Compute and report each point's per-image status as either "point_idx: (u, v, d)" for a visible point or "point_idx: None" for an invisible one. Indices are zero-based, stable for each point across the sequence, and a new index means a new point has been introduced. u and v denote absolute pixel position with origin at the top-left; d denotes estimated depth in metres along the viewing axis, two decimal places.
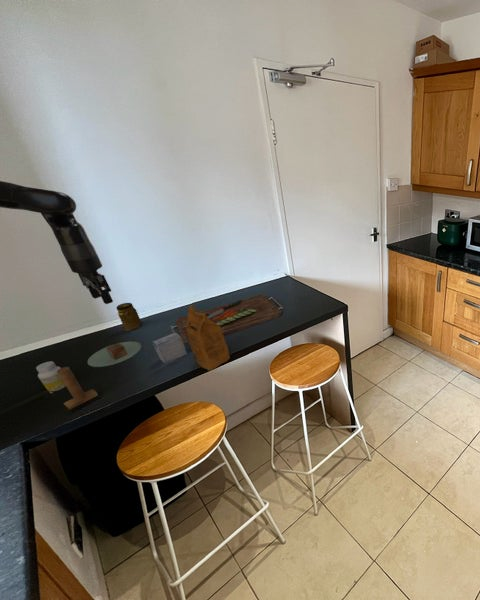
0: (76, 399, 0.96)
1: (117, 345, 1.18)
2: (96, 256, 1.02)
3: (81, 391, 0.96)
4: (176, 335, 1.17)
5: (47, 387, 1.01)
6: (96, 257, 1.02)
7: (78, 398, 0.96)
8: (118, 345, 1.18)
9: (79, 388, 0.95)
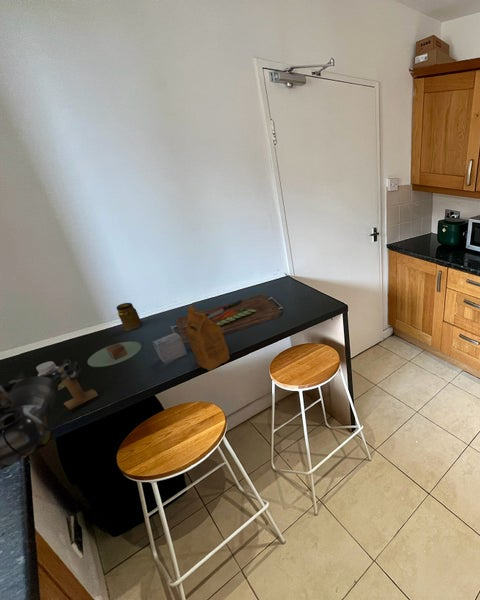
0: (76, 399, 0.96)
1: (117, 345, 1.18)
2: None
3: (81, 391, 0.96)
4: (176, 335, 1.17)
5: None
6: None
7: (78, 398, 0.96)
8: (118, 345, 1.18)
9: (79, 388, 0.95)
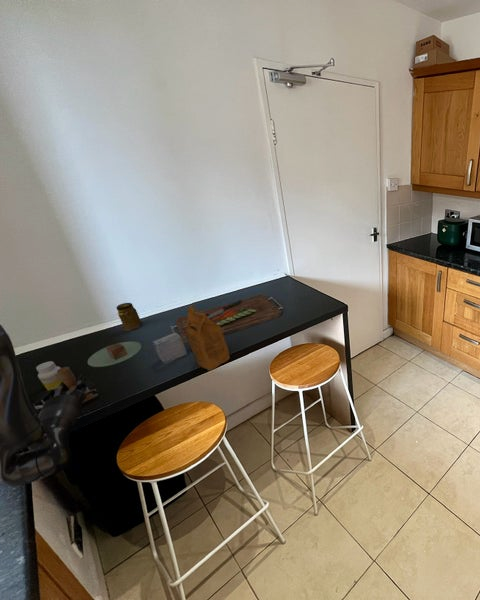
0: None
1: (117, 345, 1.18)
2: None
3: None
4: (176, 335, 1.17)
5: (47, 387, 1.01)
6: None
7: None
8: (118, 345, 1.18)
9: None
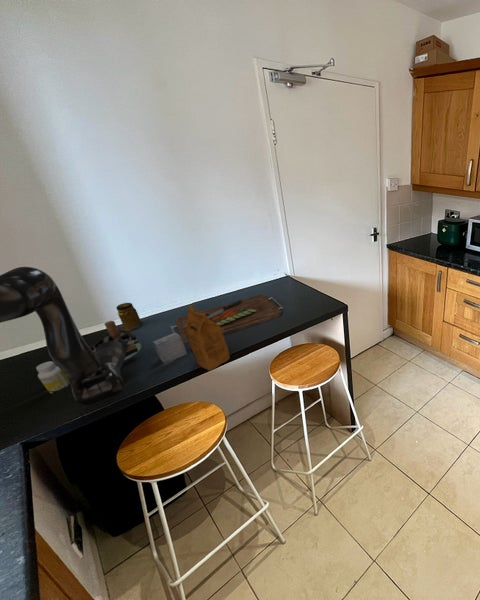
0: None
1: None
2: None
3: None
4: (176, 335, 1.17)
5: (47, 387, 1.01)
6: None
7: None
8: None
9: None
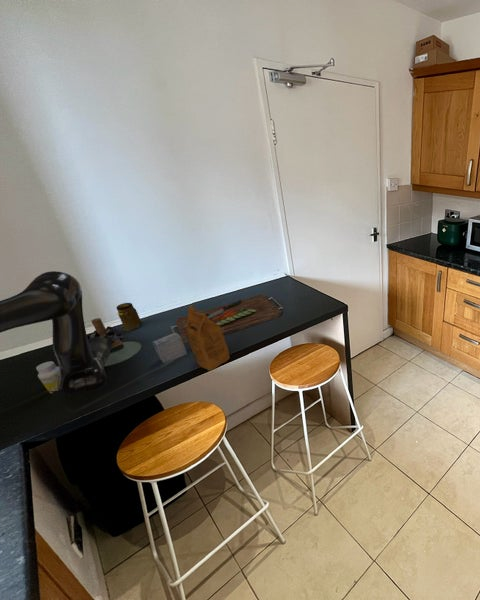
0: None
1: None
2: None
3: None
4: (176, 335, 1.17)
5: (47, 387, 1.01)
6: None
7: None
8: None
9: None
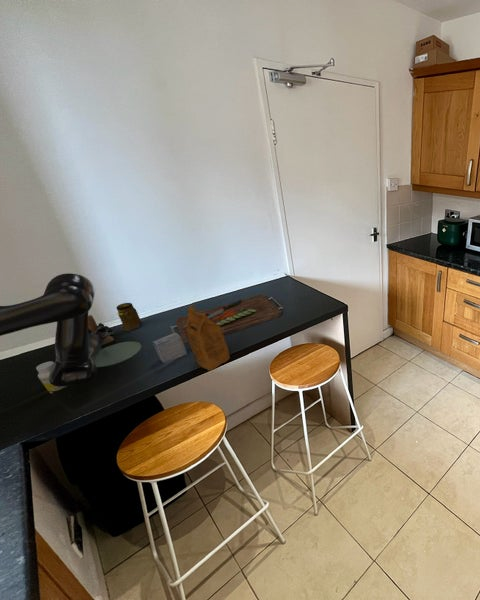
0: None
1: None
2: None
3: None
4: (176, 335, 1.17)
5: (47, 387, 1.01)
6: None
7: None
8: None
9: None
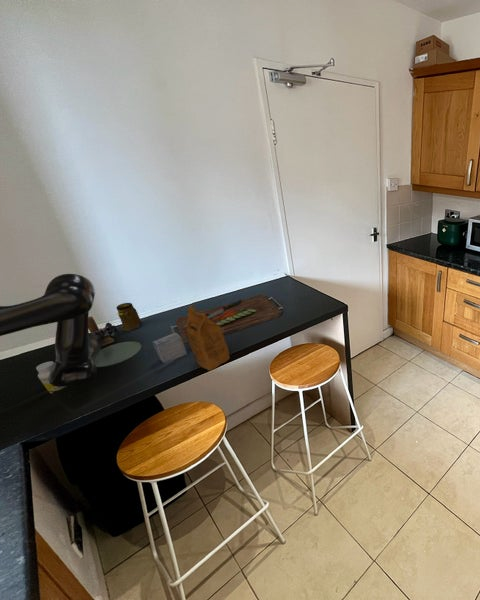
0: None
1: None
2: None
3: None
4: (176, 335, 1.17)
5: (47, 387, 1.01)
6: None
7: None
8: None
9: None
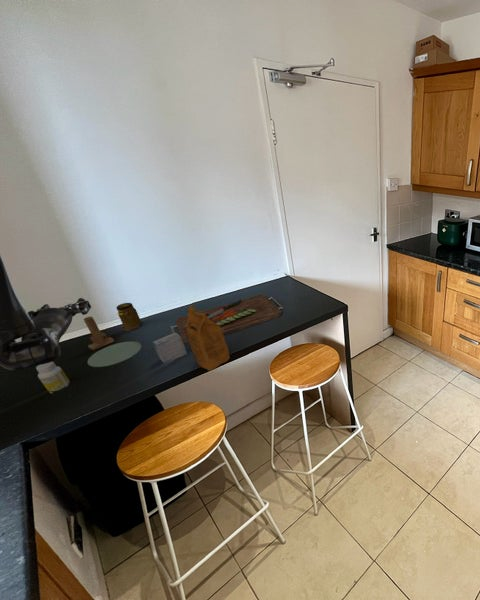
0: (97, 343, 1.22)
1: None
2: None
3: (101, 336, 1.23)
4: (176, 335, 1.17)
5: (47, 387, 1.01)
6: None
7: (99, 342, 1.22)
8: None
9: (100, 334, 1.22)
